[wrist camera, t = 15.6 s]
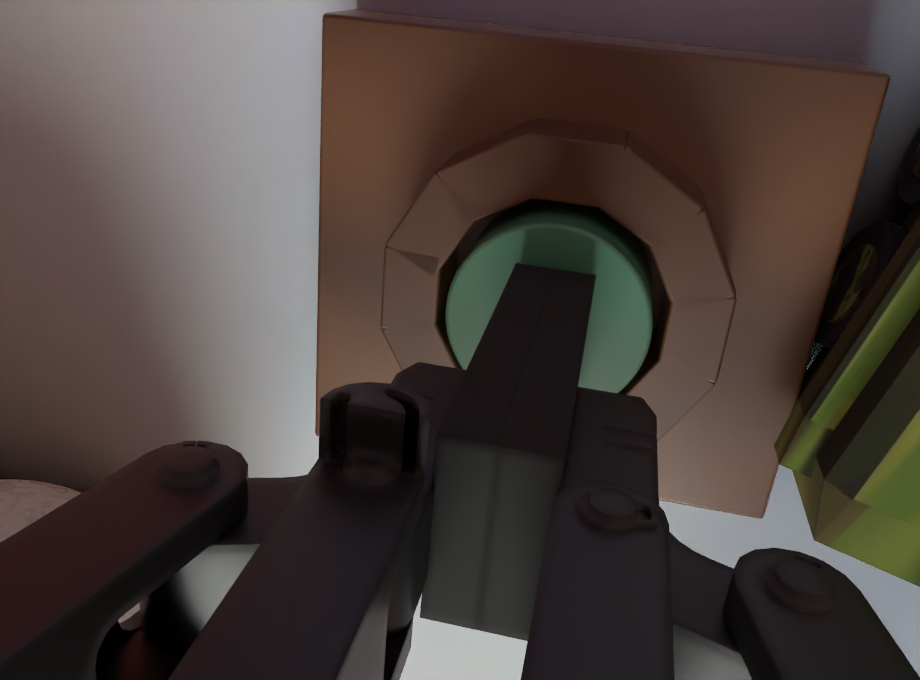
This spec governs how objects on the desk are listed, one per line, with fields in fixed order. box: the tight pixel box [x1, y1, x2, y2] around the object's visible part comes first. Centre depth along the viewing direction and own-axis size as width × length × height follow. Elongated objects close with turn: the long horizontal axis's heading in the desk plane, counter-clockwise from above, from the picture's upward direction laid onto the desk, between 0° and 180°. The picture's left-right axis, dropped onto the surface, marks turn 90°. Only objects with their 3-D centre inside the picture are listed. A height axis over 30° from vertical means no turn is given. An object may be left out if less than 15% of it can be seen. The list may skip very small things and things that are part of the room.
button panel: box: [315, 10, 890, 518], centre depth 18 cm, size 10×11×4 cm
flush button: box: [446, 200, 653, 393], centre depth 17 cm, size 4×4×2 cm
